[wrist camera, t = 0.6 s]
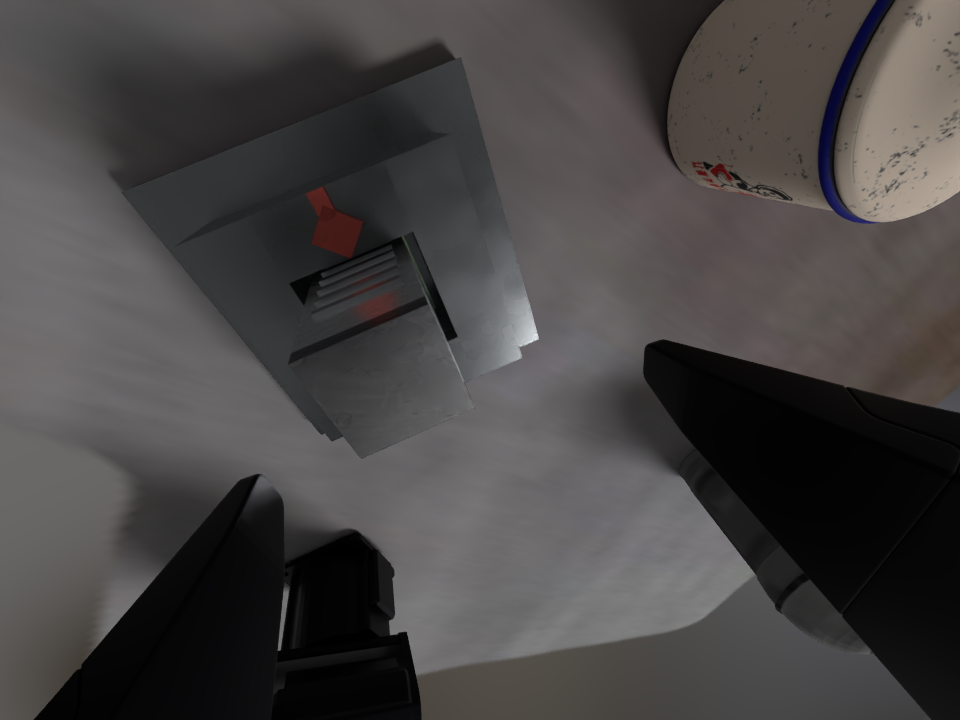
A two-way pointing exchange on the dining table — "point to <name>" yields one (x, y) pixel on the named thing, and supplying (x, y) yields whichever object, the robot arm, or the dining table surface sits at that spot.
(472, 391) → the dining table surface
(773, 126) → the teacup with lid
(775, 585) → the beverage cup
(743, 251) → the dining table surface
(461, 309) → the base
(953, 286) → the dining table surface
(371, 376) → the column
